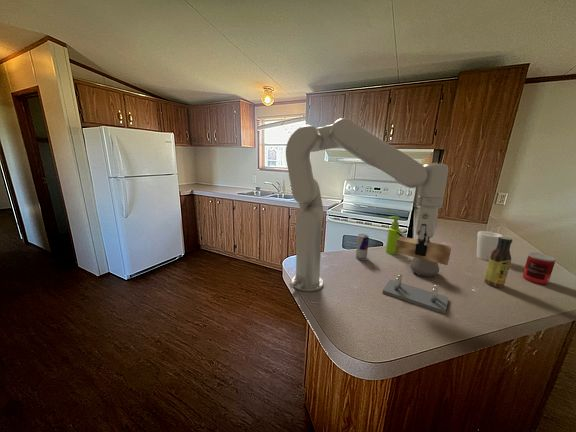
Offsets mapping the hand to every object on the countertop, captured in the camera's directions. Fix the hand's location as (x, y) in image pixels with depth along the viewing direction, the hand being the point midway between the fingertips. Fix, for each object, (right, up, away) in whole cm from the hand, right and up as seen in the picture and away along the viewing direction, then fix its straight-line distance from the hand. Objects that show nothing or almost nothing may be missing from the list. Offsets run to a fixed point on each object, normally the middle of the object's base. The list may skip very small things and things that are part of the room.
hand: (421, 252), depth 82 cm
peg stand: (0, -17, +4) cm, 18 cm away
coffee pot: (+11, -12, +27) cm, 31 cm away
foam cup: (+54, -9, +38) cm, 67 cm away
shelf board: (0, -1, 0) cm, 2 cm away
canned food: (+57, -15, +17) cm, 61 cm away
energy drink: (-10, -9, +37) cm, 39 cm away
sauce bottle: (+37, -15, +13) cm, 42 cm away
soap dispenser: (+9, -7, +44) cm, 46 cm away
